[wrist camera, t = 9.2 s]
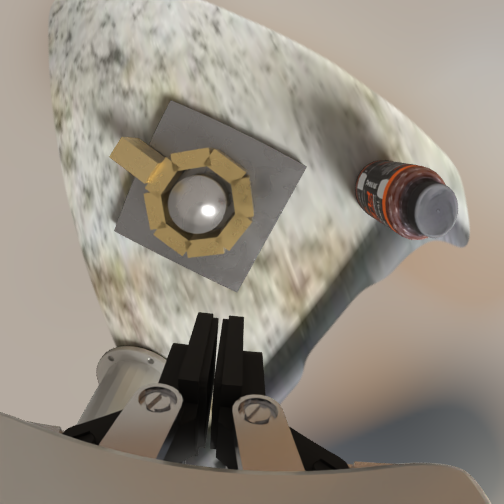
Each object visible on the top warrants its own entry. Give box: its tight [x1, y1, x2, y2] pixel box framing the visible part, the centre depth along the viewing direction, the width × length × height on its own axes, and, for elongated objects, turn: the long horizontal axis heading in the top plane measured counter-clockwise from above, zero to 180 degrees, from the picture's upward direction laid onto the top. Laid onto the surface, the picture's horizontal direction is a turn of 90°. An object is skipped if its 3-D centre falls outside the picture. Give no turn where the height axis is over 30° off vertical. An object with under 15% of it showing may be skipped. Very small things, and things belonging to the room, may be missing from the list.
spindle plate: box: [114, 100, 307, 292], centre depth 28 cm, size 14×16×5 cm
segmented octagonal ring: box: [109, 137, 254, 258], centre depth 26 cm, size 13×9×4 cm
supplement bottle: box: [355, 160, 458, 240], centre depth 24 cm, size 6×6×11 cm
